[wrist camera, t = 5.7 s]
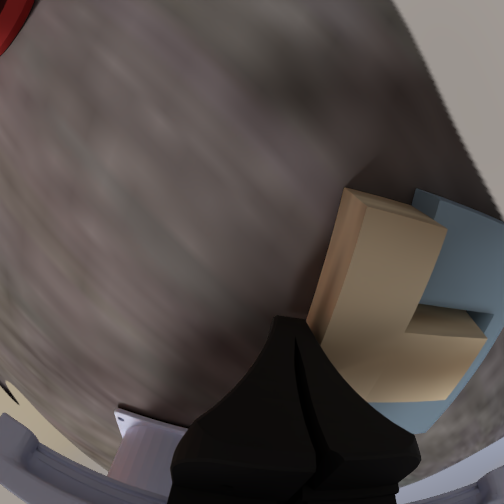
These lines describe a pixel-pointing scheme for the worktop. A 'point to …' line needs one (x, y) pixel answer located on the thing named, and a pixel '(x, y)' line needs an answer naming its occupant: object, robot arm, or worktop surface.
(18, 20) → the canned food
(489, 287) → the dock
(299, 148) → the worktop surface
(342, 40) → the worktop surface
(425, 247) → the t block
